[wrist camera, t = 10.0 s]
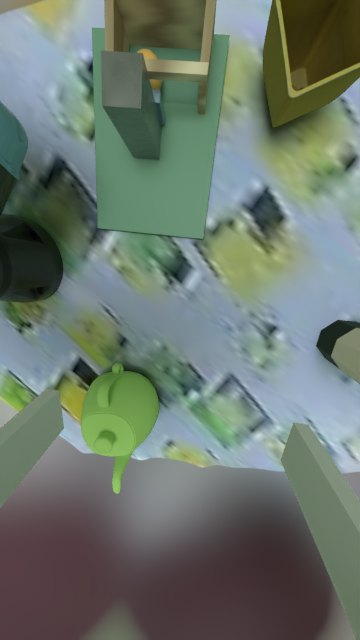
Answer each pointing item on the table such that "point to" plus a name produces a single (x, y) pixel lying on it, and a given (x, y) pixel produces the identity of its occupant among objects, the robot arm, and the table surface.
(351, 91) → the table surface
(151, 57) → the ball
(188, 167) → the board
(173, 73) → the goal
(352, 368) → the wine bottle
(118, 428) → the teapot
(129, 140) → the block
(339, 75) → the flower pot
